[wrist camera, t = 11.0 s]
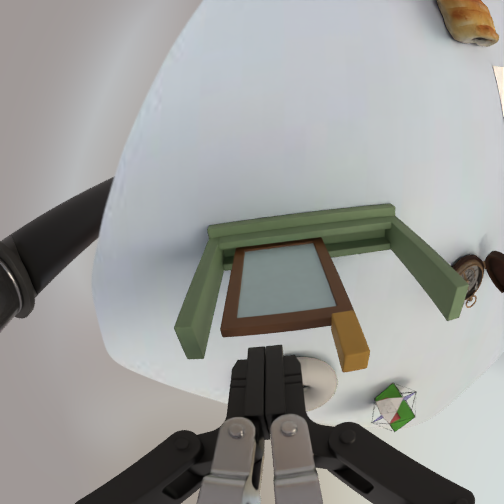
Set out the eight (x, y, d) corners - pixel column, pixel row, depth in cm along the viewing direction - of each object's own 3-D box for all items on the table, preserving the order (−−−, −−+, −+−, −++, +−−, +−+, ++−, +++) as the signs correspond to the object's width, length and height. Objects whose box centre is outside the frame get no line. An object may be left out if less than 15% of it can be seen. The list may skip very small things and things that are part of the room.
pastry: (412, -34, 11) (429, -47, 7) (456, -24, 9) (475, -33, 6) (450, 44, 14) (474, 39, 11) (490, 48, 13) (513, 46, 10)
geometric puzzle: (427, 391, 32) (423, 423, 25) (398, 416, 34) (388, 448, 28) (397, 366, 35) (389, 396, 28) (369, 393, 37) (355, 422, 31)
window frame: (218, 266, 25) (191, 369, 15) (208, 225, 24) (167, 315, 13) (389, 244, 24) (455, 328, 13) (390, 203, 22) (472, 271, 11)
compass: (436, 275, 25) (470, 316, 19) (484, 235, 23) (524, 265, 16) (450, 316, 28) (477, 355, 21) (493, 280, 25) (524, 312, 19)
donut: (264, 401, 35) (335, 391, 34) (263, 421, 32) (339, 411, 30) (248, 356, 31) (335, 344, 29) (246, 379, 28) (340, 366, 26)
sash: (237, 256, 23) (216, 385, 12) (235, 243, 23) (210, 369, 11) (321, 245, 23) (369, 368, 11) (320, 232, 22) (373, 350, 10)
